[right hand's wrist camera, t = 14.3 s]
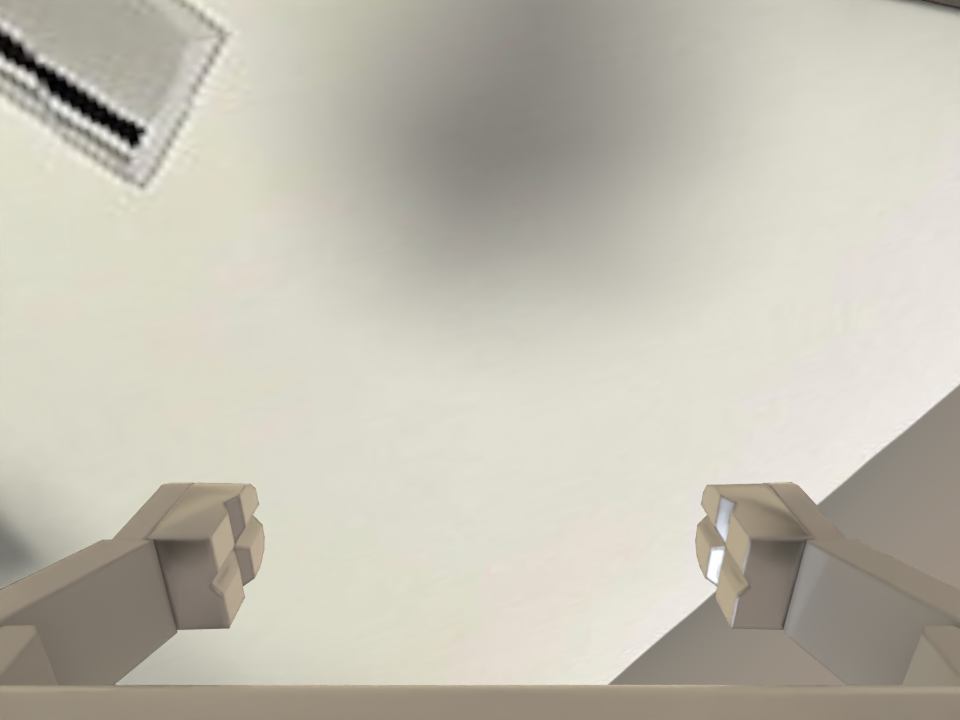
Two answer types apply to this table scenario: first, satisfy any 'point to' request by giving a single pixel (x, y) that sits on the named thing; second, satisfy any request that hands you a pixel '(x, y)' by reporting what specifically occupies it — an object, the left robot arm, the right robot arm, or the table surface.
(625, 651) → the table surface
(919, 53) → the table surface
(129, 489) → the table surface
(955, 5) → the toy
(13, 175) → the table surface
